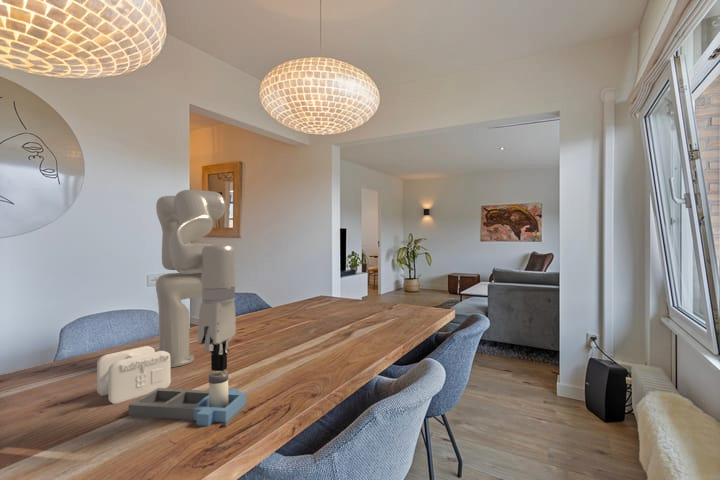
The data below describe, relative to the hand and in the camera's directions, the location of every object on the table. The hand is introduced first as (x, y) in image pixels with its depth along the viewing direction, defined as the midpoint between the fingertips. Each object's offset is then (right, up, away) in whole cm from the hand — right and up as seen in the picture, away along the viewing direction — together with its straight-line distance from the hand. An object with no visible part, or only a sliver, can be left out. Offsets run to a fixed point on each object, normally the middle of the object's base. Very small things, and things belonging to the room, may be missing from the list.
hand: (219, 369), depth 87 cm
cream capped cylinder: (0, -10, 0) cm, 10 cm away
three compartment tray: (-8, -11, +1) cm, 14 cm away
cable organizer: (-28, -12, +12) cm, 33 cm away
